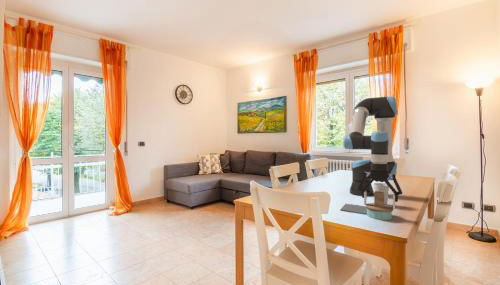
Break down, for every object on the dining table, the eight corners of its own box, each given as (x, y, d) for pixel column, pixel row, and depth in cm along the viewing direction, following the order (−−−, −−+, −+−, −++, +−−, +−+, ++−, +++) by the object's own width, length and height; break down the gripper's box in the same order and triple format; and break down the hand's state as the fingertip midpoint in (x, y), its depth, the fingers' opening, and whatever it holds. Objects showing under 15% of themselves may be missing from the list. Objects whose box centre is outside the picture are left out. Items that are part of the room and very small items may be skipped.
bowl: (368, 211, 128) (368, 204, 128) (392, 215, 122) (392, 207, 122) (365, 217, 119) (365, 209, 119) (391, 221, 113) (391, 213, 113)
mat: (345, 204, 141) (345, 203, 141) (370, 208, 134) (370, 206, 134) (340, 210, 130) (340, 209, 130) (366, 214, 123) (366, 213, 123)
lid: (367, 203, 129) (367, 188, 129) (393, 207, 122) (393, 191, 122) (364, 209, 119) (364, 193, 119) (392, 213, 112) (392, 196, 112)
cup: (391, 207, 135) (391, 186, 135) (375, 206, 137) (375, 185, 136) (386, 203, 143) (386, 183, 142) (371, 202, 144) (371, 182, 144)
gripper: (351, 162, 123) (351, 204, 124) (408, 165, 110) (408, 212, 111) (354, 160, 130) (354, 201, 130) (408, 163, 116) (408, 208, 117)
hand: (379, 206), depth 121 cm, fingers closed on lid, 12 cm apart
